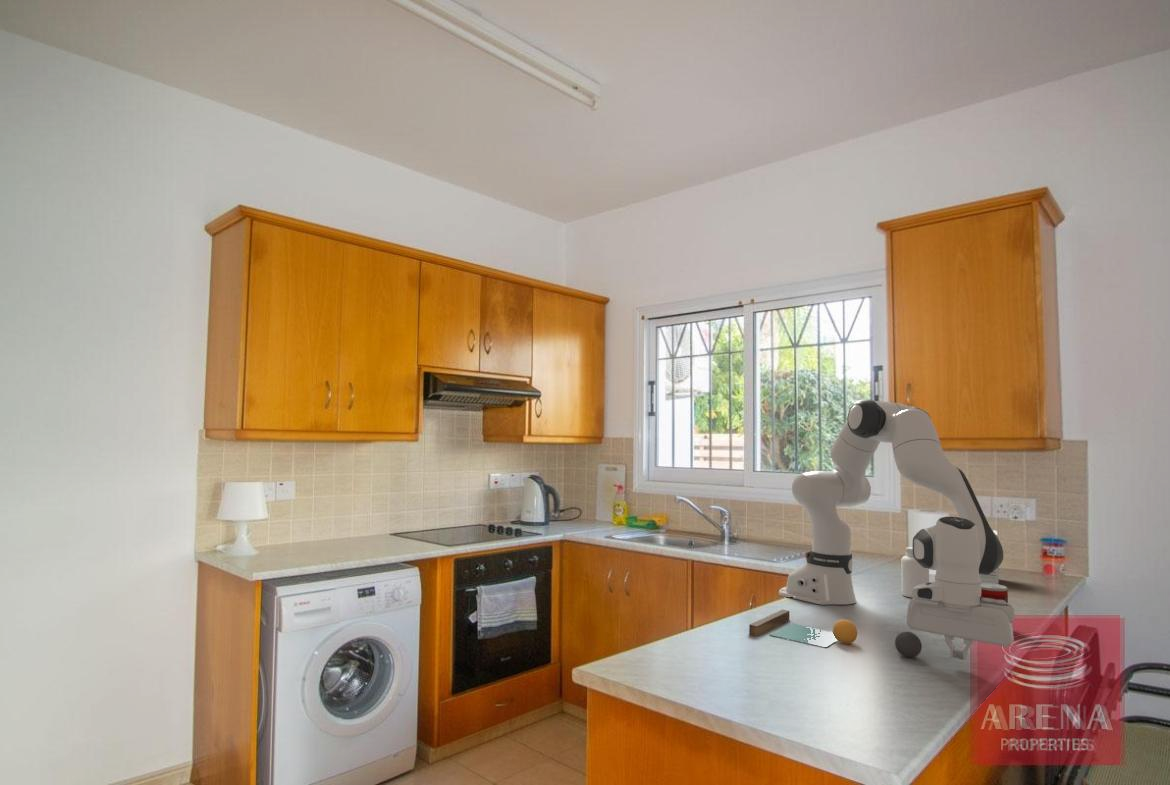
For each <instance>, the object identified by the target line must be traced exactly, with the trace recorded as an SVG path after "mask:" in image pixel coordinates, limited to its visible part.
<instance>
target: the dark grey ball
mask: <svg viewBox="0 0 1170 785" xmlns="http://www.w3.org/2000/svg"><path fill="white" fill-rule="evenodd" d="M894 646H895V649H896V651H897V652H898V653H899V654H900V655H901V656H903V657H905V658H915V657H917V656H918V655H919V654H921V652H922V647H923V645H922V641H921V639H920V638H919V636H917V635H916V634H915V633H914V632H911V631H902V632H900V633H898V634H897V635H896V637H895V640H894Z"/></svg>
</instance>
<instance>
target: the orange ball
mask: <svg viewBox="0 0 1170 785" xmlns="http://www.w3.org/2000/svg"><path fill="white" fill-rule="evenodd" d="M832 632H833V634H834V636H835V638H836V639H837V640H838V641H837V642H839V643H841V644H844V643H845V644H846V645H849V644H852V643H854V642H855V641H857V638H858V629H857V626H856V625H855V624H854V623H853V622H852V621H850V620H848V619H840V620H838V621H837V622H835V623H834V624H833V628H832ZM845 644H844V645H845Z"/></svg>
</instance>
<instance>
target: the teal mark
mask: <svg viewBox="0 0 1170 785" xmlns="http://www.w3.org/2000/svg"><path fill="white" fill-rule="evenodd" d="M806 627H809V626H807V625H802V624H797V623H790V624H788V625H786V626H783V628H780V629H779V630H776V631H774V632H773V633H770V634H769V636H770V637H773V638H774V637H775V638H778V637H779V639H783V638H784V640H787V639H789V640H788V641H792V640H794V641H793V642H796V641H799V642H798V643H801V641H802V642H804V643H803V644H805V643H808V640H807V638H810V639H809V640H811V637H813V638H812V639H814V640H816V639H815V638H816V637H820V636H816V637H815V635H817V634H815V629H813V628H814V627H812V629H813V633H812V634H814V635H813V636H811V635H807V634H811V630H810V628H806ZM820 632H821V630H820ZM818 634H820V633H818ZM804 639H805V640H804Z"/></svg>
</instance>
